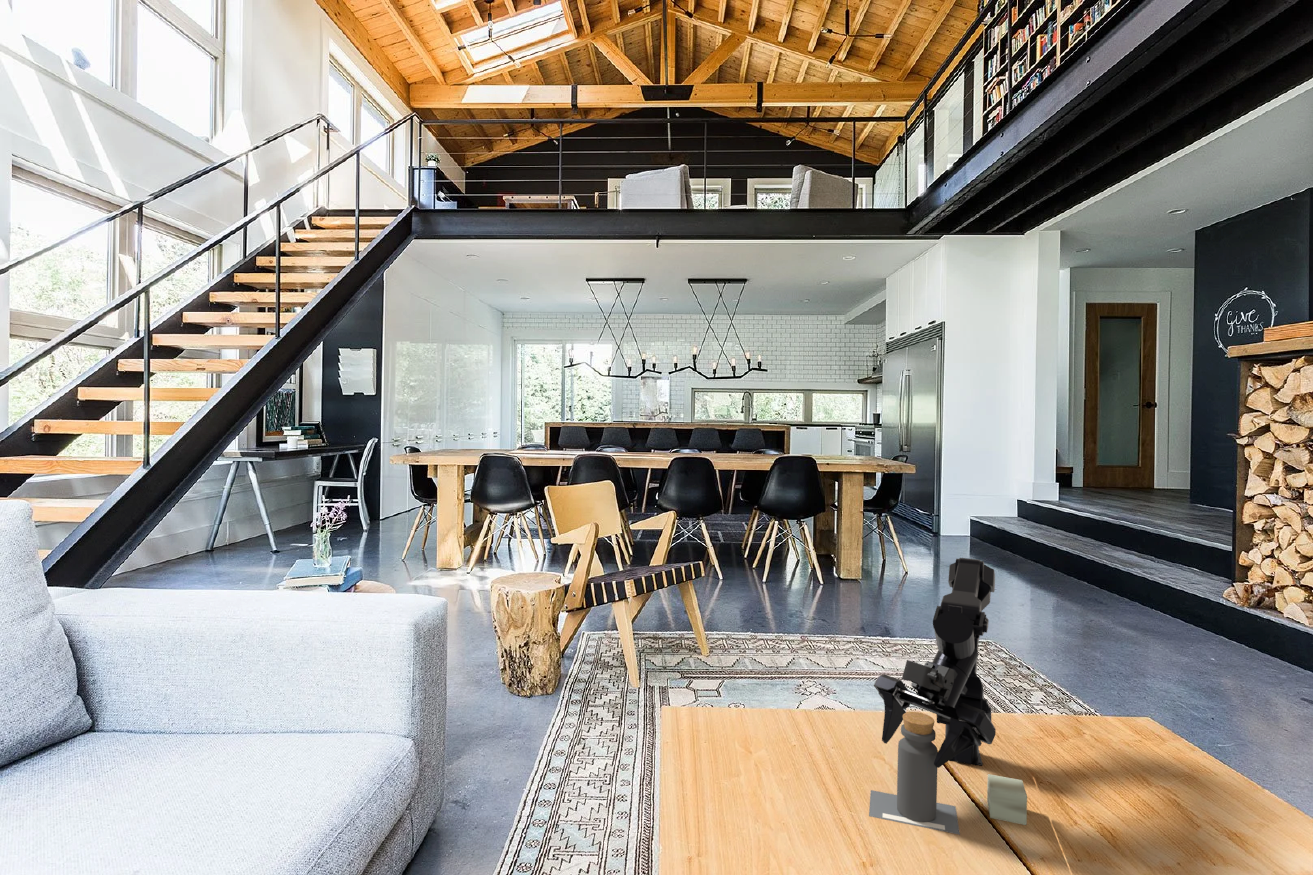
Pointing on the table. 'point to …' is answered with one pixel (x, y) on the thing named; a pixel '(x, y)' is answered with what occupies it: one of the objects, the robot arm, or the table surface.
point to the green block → (1007, 799)
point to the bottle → (917, 768)
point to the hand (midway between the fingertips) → (908, 753)
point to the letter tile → (887, 809)
